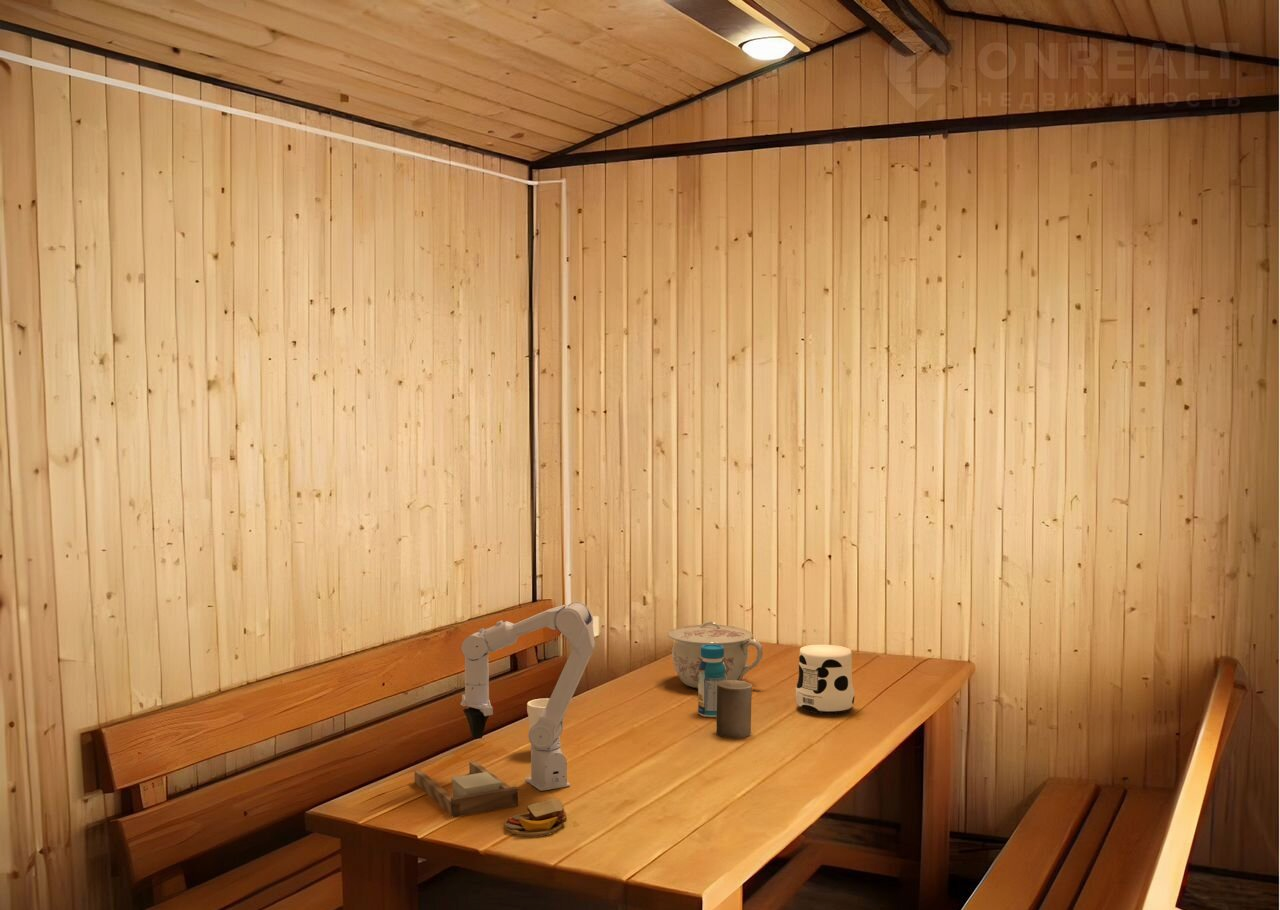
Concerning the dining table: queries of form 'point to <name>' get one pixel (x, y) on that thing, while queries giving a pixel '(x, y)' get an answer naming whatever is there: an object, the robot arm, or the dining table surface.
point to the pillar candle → (734, 708)
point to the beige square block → (474, 784)
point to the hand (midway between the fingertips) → (477, 738)
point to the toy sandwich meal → (538, 819)
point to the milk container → (825, 679)
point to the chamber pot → (729, 637)
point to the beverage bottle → (710, 678)
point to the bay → (470, 802)
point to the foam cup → (536, 710)
